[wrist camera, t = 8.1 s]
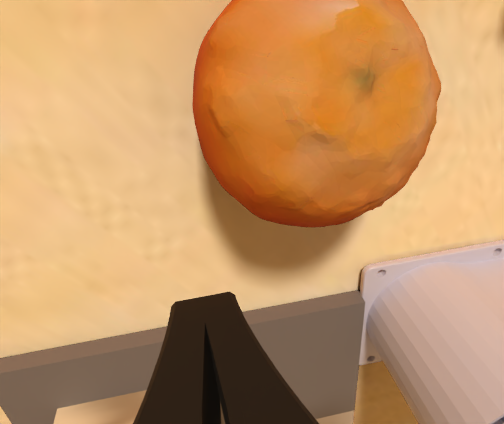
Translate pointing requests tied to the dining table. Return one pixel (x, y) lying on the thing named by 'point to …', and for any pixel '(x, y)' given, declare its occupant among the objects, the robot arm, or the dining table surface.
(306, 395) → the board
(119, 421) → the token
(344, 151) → the fruit
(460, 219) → the dining table surface
